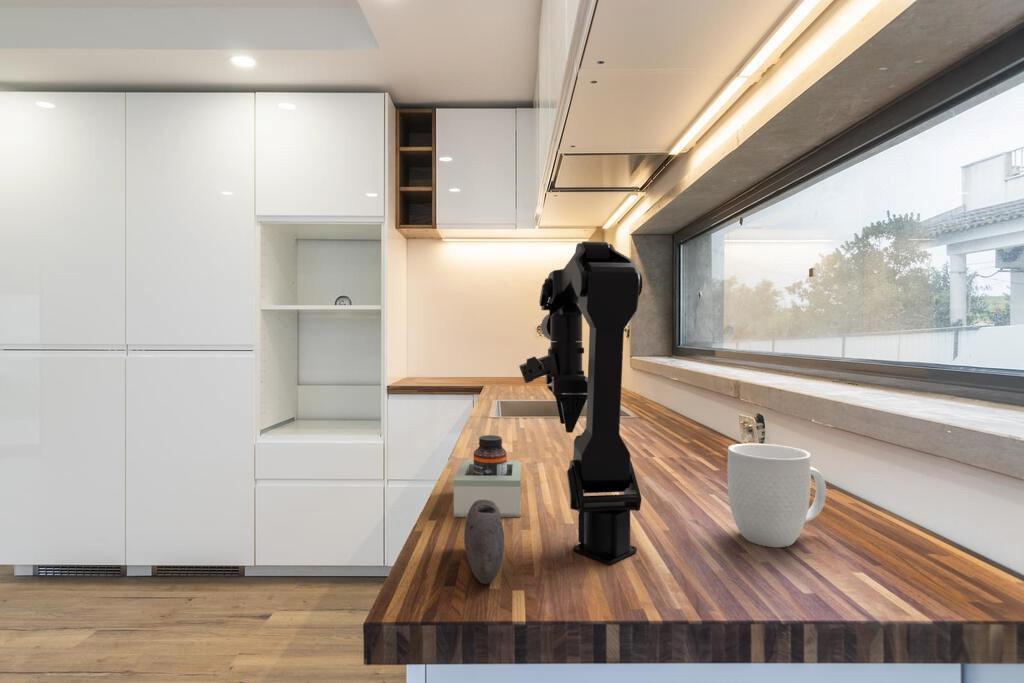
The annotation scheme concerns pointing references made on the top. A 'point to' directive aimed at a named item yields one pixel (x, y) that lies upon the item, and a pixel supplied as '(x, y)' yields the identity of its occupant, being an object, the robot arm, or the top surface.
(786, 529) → the mug
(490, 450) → the supplement bottle
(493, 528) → the perforated stone tool
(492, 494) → the green and cream box
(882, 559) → the top surface
